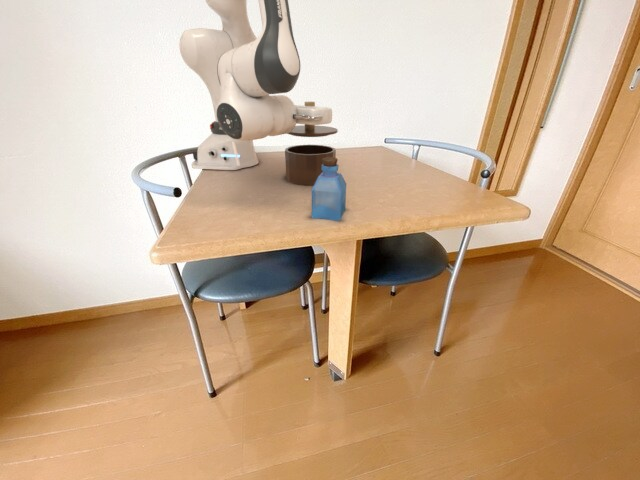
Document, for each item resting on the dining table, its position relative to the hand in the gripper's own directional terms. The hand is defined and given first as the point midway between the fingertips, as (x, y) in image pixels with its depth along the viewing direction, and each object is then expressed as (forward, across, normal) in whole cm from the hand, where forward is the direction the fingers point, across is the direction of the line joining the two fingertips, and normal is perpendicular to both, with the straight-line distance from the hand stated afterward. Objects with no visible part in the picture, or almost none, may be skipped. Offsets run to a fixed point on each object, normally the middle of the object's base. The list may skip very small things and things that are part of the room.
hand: (311, 111), depth 82 cm
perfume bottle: (-21, -20, +19) cm, 35 cm away
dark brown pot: (-1, 0, +19) cm, 19 cm away
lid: (-1, 0, +5) cm, 5 cm away
